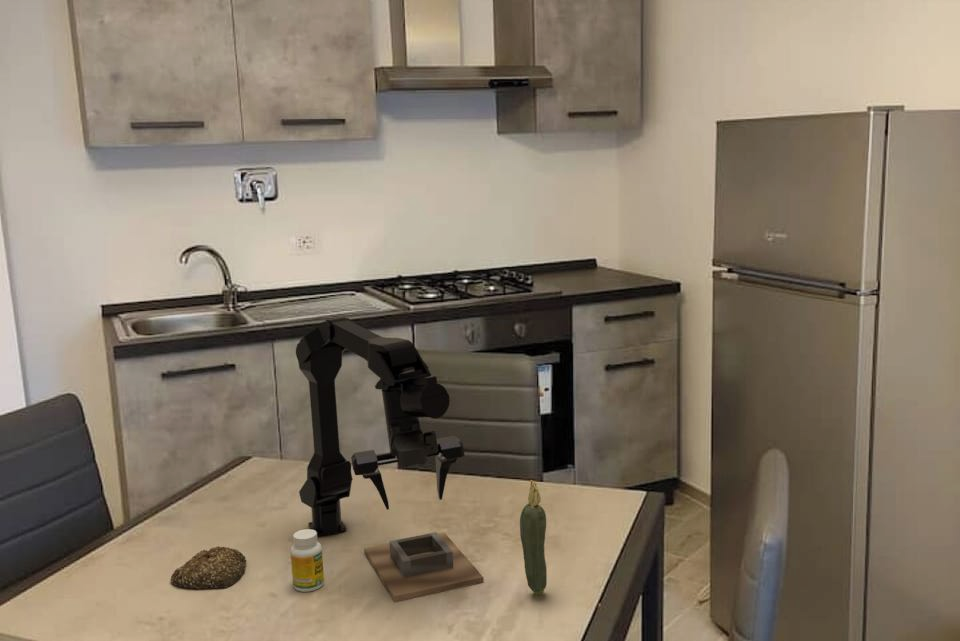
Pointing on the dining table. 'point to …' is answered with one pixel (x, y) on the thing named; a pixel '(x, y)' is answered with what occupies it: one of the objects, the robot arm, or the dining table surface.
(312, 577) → the supplement bottle
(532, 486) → the vegetable
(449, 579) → the can holder
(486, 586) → the dining table surface
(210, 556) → the bread roll
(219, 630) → the dining table surface
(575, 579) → the dining table surface
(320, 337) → the robot arm
